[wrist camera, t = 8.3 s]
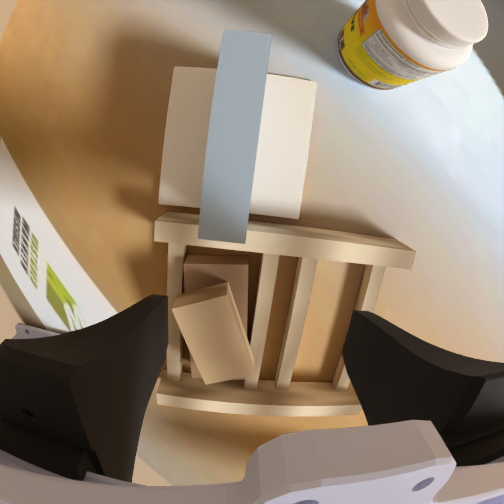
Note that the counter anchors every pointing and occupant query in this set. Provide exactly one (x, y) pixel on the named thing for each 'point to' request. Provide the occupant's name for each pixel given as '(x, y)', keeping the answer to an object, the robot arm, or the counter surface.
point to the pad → (268, 151)
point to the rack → (271, 246)
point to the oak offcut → (214, 333)
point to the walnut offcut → (216, 272)
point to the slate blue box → (233, 136)
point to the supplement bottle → (409, 39)
